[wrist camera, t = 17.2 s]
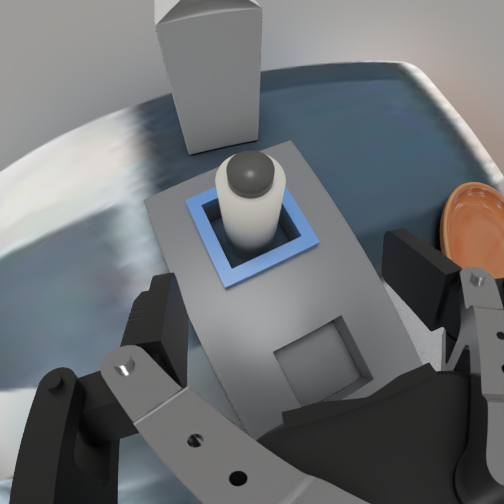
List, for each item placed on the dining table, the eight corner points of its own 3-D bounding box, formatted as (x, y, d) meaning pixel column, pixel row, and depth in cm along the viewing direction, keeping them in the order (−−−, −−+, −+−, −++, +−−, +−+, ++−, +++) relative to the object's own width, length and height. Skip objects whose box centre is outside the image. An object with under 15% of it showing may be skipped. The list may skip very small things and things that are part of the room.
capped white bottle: (239, 268, 24) (232, 213, 15) (219, 227, 25) (202, 156, 16) (282, 247, 25) (301, 183, 15) (260, 208, 26) (265, 132, 16)
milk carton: (189, 156, 28) (143, -24, 10) (180, 111, 30) (146, -41, 12) (258, 141, 28) (264, -41, 10) (241, 98, 30) (238, -55, 12)
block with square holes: (271, 464, 19) (274, 480, 16) (152, 213, 26) (140, 195, 22) (414, 379, 21) (434, 381, 18) (287, 156, 28) (291, 134, 24)
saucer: (495, 358, 21) (514, 357, 18) (404, 265, 24) (420, 255, 22) (529, 252, 25) (543, 245, 22) (454, 169, 28) (467, 156, 25)
